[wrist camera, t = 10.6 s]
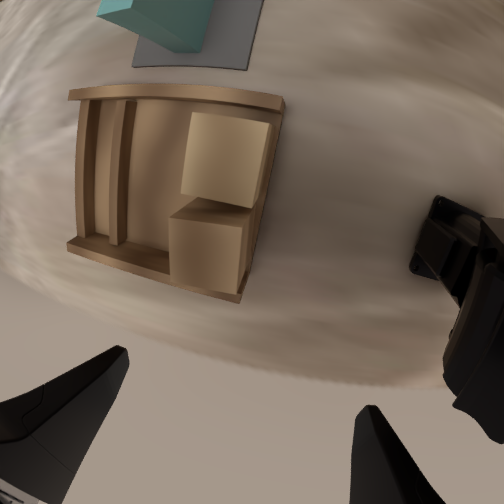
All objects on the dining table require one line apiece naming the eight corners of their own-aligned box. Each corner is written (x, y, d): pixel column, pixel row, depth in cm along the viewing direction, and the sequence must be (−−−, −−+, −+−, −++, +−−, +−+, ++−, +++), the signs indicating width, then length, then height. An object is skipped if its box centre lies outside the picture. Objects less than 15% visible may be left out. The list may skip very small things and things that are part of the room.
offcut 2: (256, 203, 18) (242, 227, 14) (250, 256, 20) (235, 294, 15) (199, 196, 18) (168, 217, 14) (197, 248, 20) (170, 282, 16)
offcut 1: (274, 126, 16) (268, 123, 12) (260, 192, 18) (251, 208, 14) (214, 116, 16) (192, 112, 12) (203, 180, 18) (180, 193, 14)
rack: (285, 104, 16) (282, 96, 12) (249, 274, 22) (239, 303, 18) (101, 92, 17) (69, 90, 13) (94, 233, 22) (67, 251, 19)
